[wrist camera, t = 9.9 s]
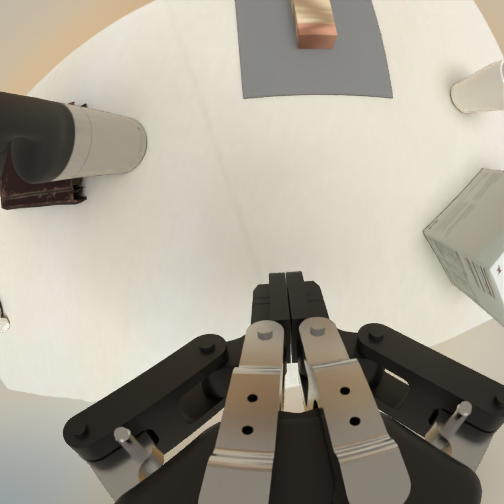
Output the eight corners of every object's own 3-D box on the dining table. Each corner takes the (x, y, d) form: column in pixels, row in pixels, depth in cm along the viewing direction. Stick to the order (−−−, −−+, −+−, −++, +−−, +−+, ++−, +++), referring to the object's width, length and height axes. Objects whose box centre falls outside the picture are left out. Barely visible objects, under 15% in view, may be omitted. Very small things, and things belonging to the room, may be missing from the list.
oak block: (299, 34, 28) (288, -25, 24) (298, 49, 32) (288, -8, 29) (337, 35, 27) (322, -24, 24) (331, 49, 32) (319, -8, 28)
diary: (89, 201, 44) (72, 206, 39) (16, 207, 46) (0, 211, 42) (89, 100, 38) (72, 96, 33) (14, 127, 41) (-2, 128, 36)
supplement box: (453, 286, 40) (510, 338, 23) (420, 230, 38) (487, 269, 21) (508, 225, 35) (572, 252, 18) (481, 166, 34) (555, 174, 16)
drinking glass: (459, 74, 29) (511, 52, 15) (480, 107, 31) (536, 97, 16) (439, 89, 31) (492, 66, 17) (461, 124, 32) (520, 116, 18)
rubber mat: (243, 98, 36) (243, 97, 36) (234, -12, 30) (234, -14, 29) (391, 98, 33) (393, 97, 33) (366, -12, 27) (366, -13, 27)
